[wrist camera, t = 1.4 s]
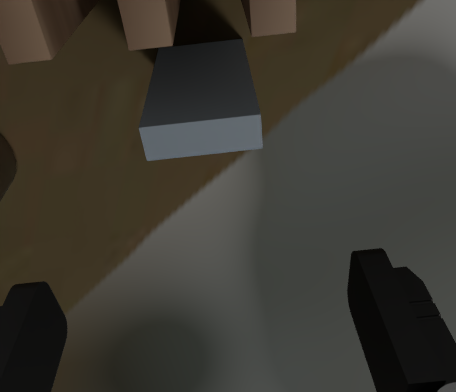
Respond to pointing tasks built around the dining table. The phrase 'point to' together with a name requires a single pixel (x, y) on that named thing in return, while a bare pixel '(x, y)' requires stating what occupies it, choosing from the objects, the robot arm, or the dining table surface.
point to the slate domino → (200, 102)
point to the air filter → (6, 166)
